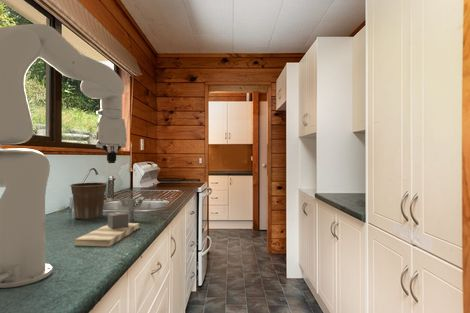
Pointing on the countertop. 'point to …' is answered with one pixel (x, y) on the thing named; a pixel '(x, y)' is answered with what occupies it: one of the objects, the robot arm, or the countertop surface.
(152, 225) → the countertop surface
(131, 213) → the mechanical component
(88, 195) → the plant pot
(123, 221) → the grey and orange block
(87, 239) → the light wood flat block
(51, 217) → the countertop surface
